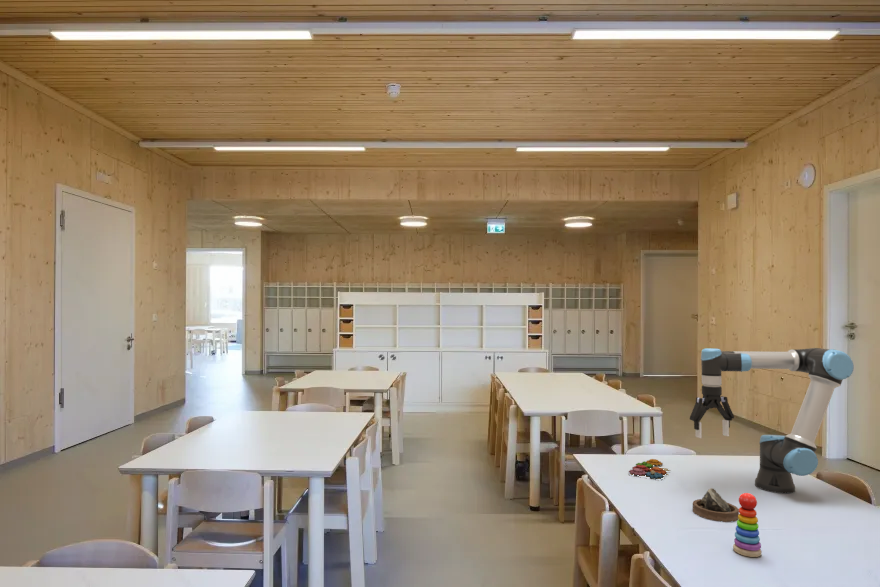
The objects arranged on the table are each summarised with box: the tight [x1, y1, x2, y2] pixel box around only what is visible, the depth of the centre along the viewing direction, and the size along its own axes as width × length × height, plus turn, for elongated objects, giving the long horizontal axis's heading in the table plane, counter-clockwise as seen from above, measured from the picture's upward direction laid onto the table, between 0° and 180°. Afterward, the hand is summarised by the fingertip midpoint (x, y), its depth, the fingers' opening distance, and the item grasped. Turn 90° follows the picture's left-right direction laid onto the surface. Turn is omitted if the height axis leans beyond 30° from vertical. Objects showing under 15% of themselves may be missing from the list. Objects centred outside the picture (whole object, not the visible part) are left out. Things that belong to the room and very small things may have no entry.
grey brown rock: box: [700, 487, 731, 512], centre depth 211 cm, size 11×9×10 cm
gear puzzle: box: [628, 458, 671, 479], centre depth 268 cm, size 31×16×4 cm, turn 149°
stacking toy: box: [732, 492, 762, 558], centre depth 178 cm, size 8×8×19 cm
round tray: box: [692, 498, 740, 523], centre depth 211 cm, size 15×15×3 cm
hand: (712, 436), depth 233 cm, fingers open, 13 cm apart
